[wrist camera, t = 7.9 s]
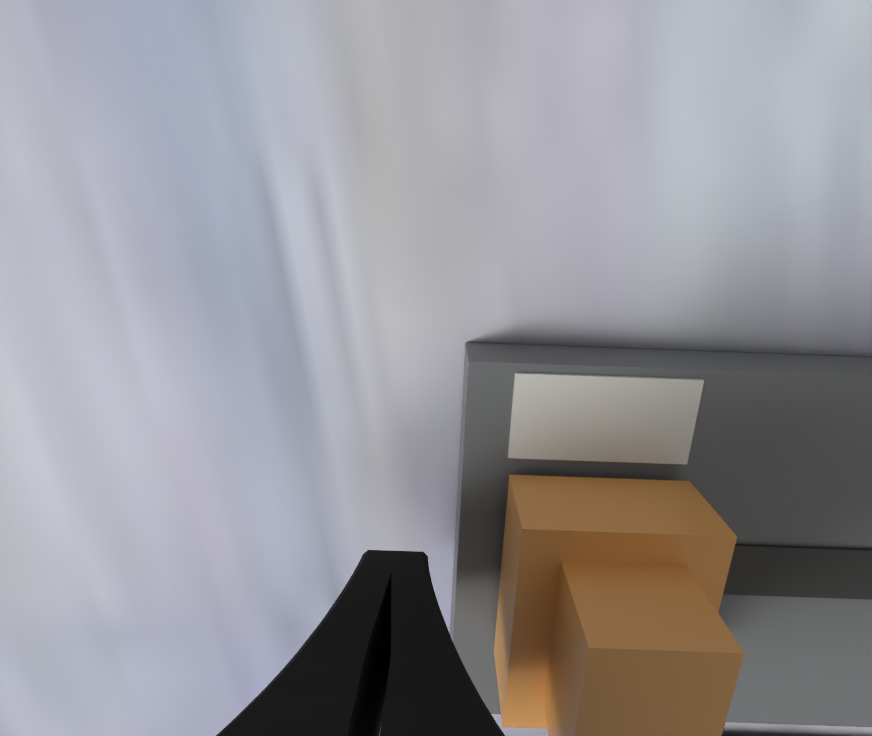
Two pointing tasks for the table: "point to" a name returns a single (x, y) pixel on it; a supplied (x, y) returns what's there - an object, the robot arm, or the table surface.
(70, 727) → the table surface
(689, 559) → the breaker toggle
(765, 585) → the breaker panel
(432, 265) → the table surface
